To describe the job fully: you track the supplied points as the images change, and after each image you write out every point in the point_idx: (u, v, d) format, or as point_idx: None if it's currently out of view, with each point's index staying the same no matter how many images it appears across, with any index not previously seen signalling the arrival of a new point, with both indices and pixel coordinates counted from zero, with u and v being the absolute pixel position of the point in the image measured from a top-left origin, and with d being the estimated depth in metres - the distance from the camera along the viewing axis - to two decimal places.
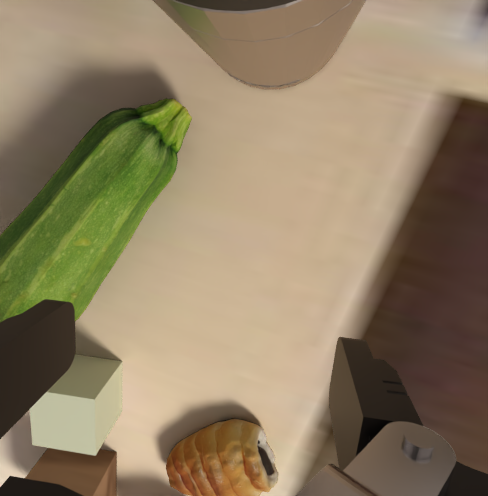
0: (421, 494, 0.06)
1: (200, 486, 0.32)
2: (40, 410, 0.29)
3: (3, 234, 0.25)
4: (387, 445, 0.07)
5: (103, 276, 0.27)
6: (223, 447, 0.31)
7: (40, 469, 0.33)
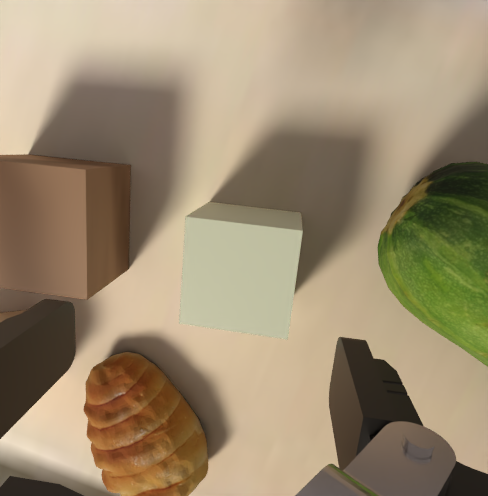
0: (421, 494, 0.06)
1: (116, 430, 0.22)
2: (260, 245, 0.17)
3: None
4: (387, 445, 0.07)
5: (475, 356, 0.18)
6: (183, 457, 0.23)
7: (105, 182, 0.19)
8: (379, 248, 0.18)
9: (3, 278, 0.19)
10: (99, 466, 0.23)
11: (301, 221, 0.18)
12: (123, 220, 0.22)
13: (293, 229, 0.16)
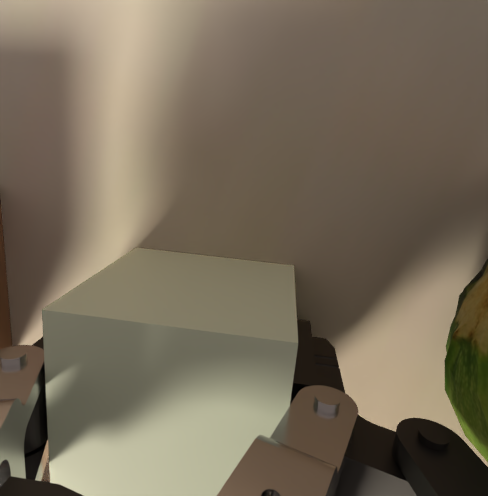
0: (336, 444, 0.07)
1: None
2: (205, 370, 0.08)
3: None
4: (299, 403, 0.08)
5: None
6: None
7: None
8: (449, 365, 0.09)
9: None
10: None
11: (295, 299, 0.09)
12: None
13: (277, 338, 0.07)
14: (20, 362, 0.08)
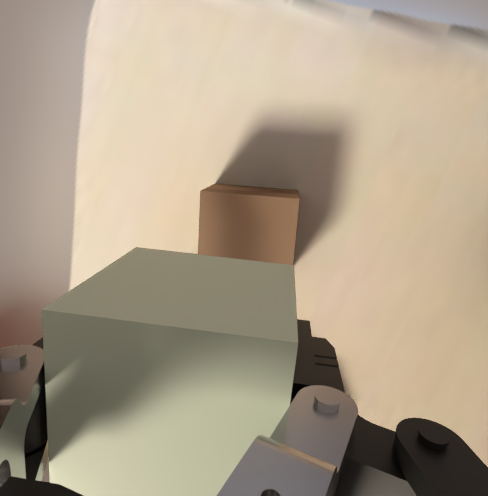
0: (335, 444, 0.07)
1: None
2: (205, 370, 0.08)
3: None
4: (299, 403, 0.08)
5: None
6: None
7: None
8: None
9: None
10: None
11: (294, 299, 0.09)
12: None
13: (277, 338, 0.07)
14: (20, 362, 0.08)
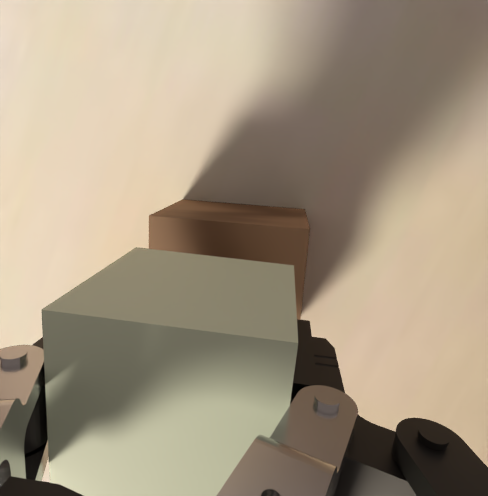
0: (335, 444, 0.07)
1: None
2: (205, 371, 0.08)
3: None
4: (299, 403, 0.08)
5: None
6: None
7: None
8: None
9: None
10: None
11: (294, 299, 0.09)
12: None
13: (277, 338, 0.07)
14: (20, 362, 0.08)
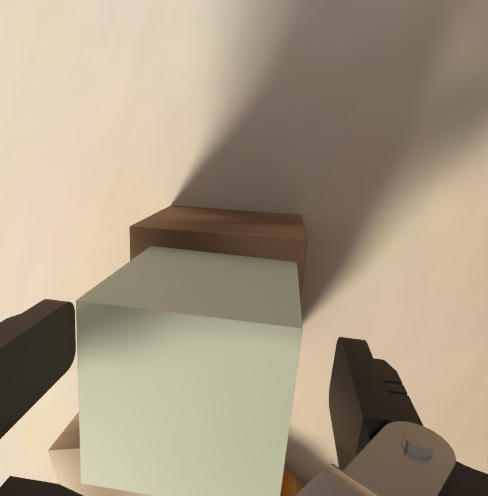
0: (421, 494, 0.06)
1: None
2: (220, 354, 0.09)
3: None
4: (387, 445, 0.07)
5: None
6: None
7: None
8: None
9: None
10: None
11: (298, 292, 0.10)
12: None
13: (284, 325, 0.08)
14: None
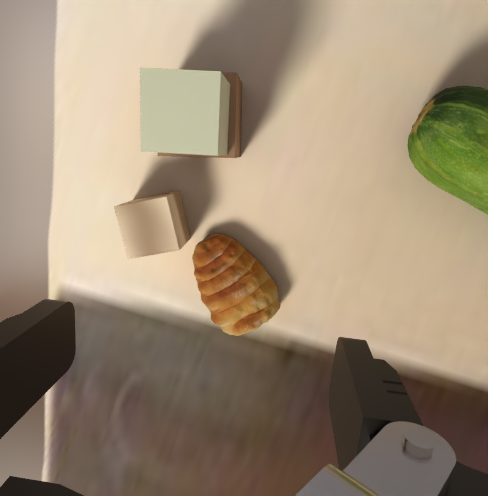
0: (421, 494, 0.06)
1: (220, 277, 0.35)
2: (192, 85, 0.24)
3: None
4: (387, 445, 0.07)
5: (472, 204, 0.31)
6: (265, 291, 0.35)
7: (238, 86, 0.30)
8: (409, 145, 0.30)
9: None
10: (211, 306, 0.35)
11: (224, 77, 0.26)
12: (240, 119, 0.33)
13: (214, 71, 0.24)
14: None
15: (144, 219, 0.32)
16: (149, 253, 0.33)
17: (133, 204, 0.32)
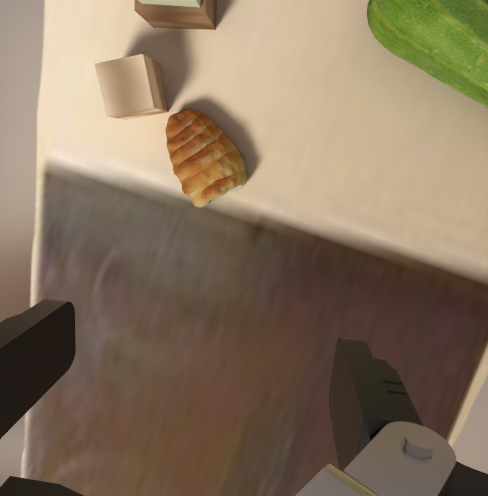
0: (421, 494, 0.06)
1: (189, 145, 0.37)
2: None
3: None
4: (387, 445, 0.07)
5: (427, 70, 0.33)
6: (231, 159, 0.37)
7: None
8: (368, 13, 0.33)
9: (156, 4, 0.33)
10: (181, 173, 0.38)
11: None
12: None
13: None
14: None
15: (122, 76, 0.35)
16: (126, 110, 0.36)
17: (112, 61, 0.35)
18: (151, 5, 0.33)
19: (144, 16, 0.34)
